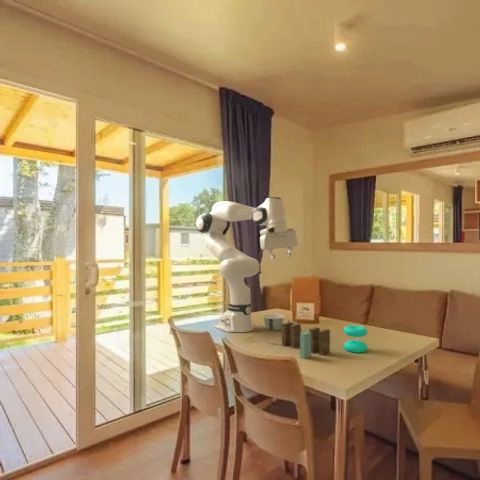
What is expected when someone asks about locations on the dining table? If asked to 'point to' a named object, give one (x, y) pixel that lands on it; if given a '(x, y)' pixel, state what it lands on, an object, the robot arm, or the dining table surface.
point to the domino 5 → (324, 341)
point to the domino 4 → (314, 339)
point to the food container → (273, 321)
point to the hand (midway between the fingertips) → (281, 257)
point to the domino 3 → (305, 345)
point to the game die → (295, 323)
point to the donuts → (355, 344)
